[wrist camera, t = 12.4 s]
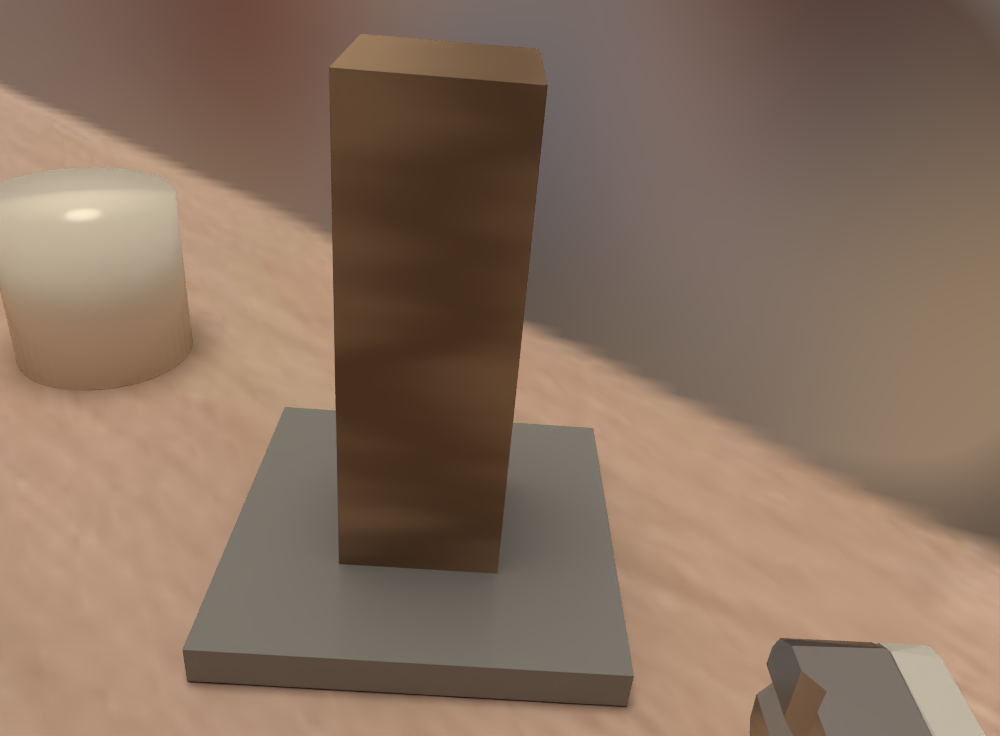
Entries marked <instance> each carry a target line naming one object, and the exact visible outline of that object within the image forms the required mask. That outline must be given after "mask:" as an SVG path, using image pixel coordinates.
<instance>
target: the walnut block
mask: <svg viewBox="0 0 1000 736" xmlns="http://www.w3.org/2000/svg"><path fill="white" fill-rule="evenodd" d="M547 86H548V85H547V80H546V76H545V71H544V67H543V62H542V58H541V53H540V49H534V48H522V47H510V46H497V45H486V44H474V43H462V42H450V41H437V40H425V39H414V38H402V37H391V36H379V35H366V34H361V35H360V36H359V37H358V38H357V39H356V40H355V41H354V42H353V43H352V44H351V45H350V46H349V47H348V48H347V49H346V50H345V51H344V52H343V54H341V55H340V56H339V58H338V59H337V60H336V61H335V62H334V63H333V64H332V65H331V66H330V67H329V88H330V89H329V90H330V138H331V139H330V140H331V187H332V188H331V192H332V242H333V293H334V344H335V395H336V445H337V496H338V547H339V564H347V565H363V566H380V567H396V568H412V569H428V570H445V571H461V572H477V573H494V574H497V573H498V563H499V553H500V544H501V534H502V524H503V514H504V505H505V495H506V485H507V475H508V466H509V456H510V446H511V437H512V427H513V417H514V407H515V398H516V388H517V378H518V368H519V359H520V349H521V339H522V330H523V320H524V309H525V300H526V291H527V281H528V271H529V261H530V252H531V241H532V232H533V223H534V213H535V203H536V193H537V184H538V174H539V163H540V154H541V144H542V135H543V124H544V114H545V106H546V96H547Z"/></svg>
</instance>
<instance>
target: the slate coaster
mask: <svg viewBox="0 0 1000 736" xmlns="http://www.w3.org/2000/svg"><path fill="white" fill-rule="evenodd" d="M183 656H184V662H185V669H186V676H187V681H197V682H214V683H232V684H249V685H267V686H284V687H302V688H319V689H337V690H354V691H371V692H389V693H406V694H424V695H441V696H459V697H476V698H494V699H511V700H529V701H546V702H564V703H581V704H599V705H616V706H627V703H628V699H629V694H630V690H631V686H632V681H633V677H634V675H633V669H632V663H631V657H630V651H629V645H628V639H627V633H626V626H625V620H624V614H623V608H622V602H621V596H620V590H619V584H618V577H617V571H616V565H615V559H614V553H613V547H612V541H611V534H610V528H609V522H608V516H607V510H606V504H605V498H604V492H603V485H602V479H601V473H600V467H599V461H598V455H597V449H596V443H595V436H594V430H593V428H581V427H567V426H552V425H538V424H523V423H513V427H512V437H511V446H510V456H509V466H508V475H507V485H506V495H505V505H504V514H503V524H502V534H501V544H500V553H499V563H498V573H497V574H494V573H477V572H461V571H445V570H428V569H412V568H396V567H380V566H363V565H347V564H339V547H338V496H337V445H336V411H333V410H319V409H304V408H290V407H285V408H284V410H283V413H282V415H281V418H280V420H279V422H278V425H277V427H276V429H275V432H274V434H273V437H272V439H271V441H270V444H269V446H268V448H267V451H266V453H265V455H264V458H263V460H262V463H261V465H260V467H259V470H258V472H257V474H256V477H255V479H254V482H253V484H252V486H251V489H250V491H249V493H248V496H247V498H246V501H245V503H244V505H243V508H242V510H241V512H240V515H239V517H238V520H237V522H236V524H235V527H234V529H233V531H232V534H231V536H230V539H229V541H228V543H227V546H226V548H225V550H224V553H223V555H222V558H221V560H220V562H219V565H218V567H217V569H216V572H215V574H214V576H213V579H212V581H211V584H210V586H209V588H208V591H207V593H206V595H205V598H204V600H203V603H202V605H201V607H200V610H199V612H198V614H197V617H196V619H195V622H194V624H193V626H192V629H191V631H190V633H189V636H188V638H187V641H186V643H185V645H184V648H183Z"/></svg>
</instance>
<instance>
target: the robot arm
mask: <svg viewBox="0 0 1000 736" xmlns="http://www.w3.org/2000/svg"><path fill="white" fill-rule="evenodd" d="M767 667H768V670H769V673H770V676H771V679H772V682H773V683H771V684H770V685H769V686H767V687H766V688H765V689H763V690H762V691H760V692H759V693H758V694H757V695H756V699H755V702H754V706H753V709H752V713H751V717H750V736H986V735H985V733H984V731H983V729H982V728H981V726H980V724H979V722H978V721H977V719H976V717H975V716H974V714H973V712H972V710H971V709H970V707H969V705H968V704H967V702H966V700H965V698H964V697H963V695H962V693H961V691H960V690H959V688H958V686H957V685H956V683H955V681H954V679H953V678H952V676H951V674H950V672H949V671H948V669H947V667H946V666H945V664H944V662H943V660H942V659H941V657H940V655H939V654H938V653H937V652H936V651H935V650H933V649H932V648H931V647H930V646H928V645H911V644H891V643H877V644H875V643H872V642H853V641H832V640H811V639H789V638H780V639H779V640H778V641H777V642H776V644H775V645H774V646H773V647H772V650H771V653H770V656H769V659H768V661H767Z"/></svg>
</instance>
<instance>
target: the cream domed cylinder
mask: <svg viewBox="0 0 1000 736" xmlns="http://www.w3.org/2000/svg"><path fill="white" fill-rule="evenodd" d="M0 292H1V296H2V300H3V305H4V309H5V313H6V318H7V322H8V326H9V331H10V335H11V339H12V344H13V348H14V352H15V357H16V361H17V365H18V367H19V369H20V371H21V372H22V373H23V374H24V375H25V376H26V377H28V378H29V379H31V380H33V381H35V382H37V383H40V384H43V385H45V386H50V387H54V388H60V389H67V390H102V389H111V388H118V387H123V386H128V385H132V384H136V383H140V382H143V381H146V380H149V379H152V378H154V377H157V376H159V375H161V374H164V373H166V372H168V371H169V370H171V369H173V368H174V367H176V366H177V365H178V364H180V363H181V362H182V361H183V360H184V359H185V358H186V357H187V356H188V354H189V353H190V351H191V348H192V343H193V342H192V333H191V324H190V315H189V306H188V297H187V288H186V280H185V271H184V262H183V253H182V244H181V235H180V226H179V217H178V209H177V200H176V191H175V188H174V186H173V185H172V184H171V183H170V182H169V181H167V180H165V179H164V178H161V177H159V176H156V175H153V174H150V173H146V172H141V171H135V170H129V169H120V168H103V167H85V168H66V169H56V170H48V171H41V172H36V173H31V174H26V175H22V176H18V177H15V178H11V179H8V180H6V181H3V182H0Z"/></svg>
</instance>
